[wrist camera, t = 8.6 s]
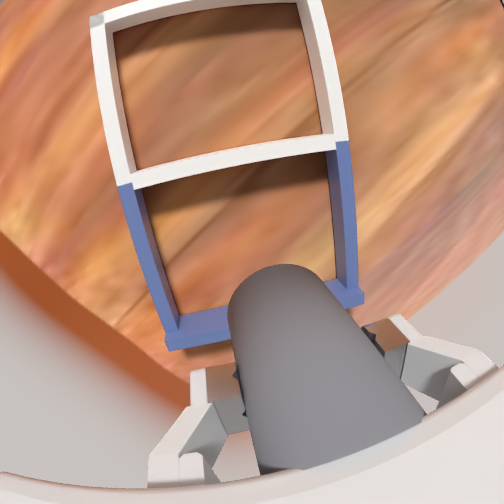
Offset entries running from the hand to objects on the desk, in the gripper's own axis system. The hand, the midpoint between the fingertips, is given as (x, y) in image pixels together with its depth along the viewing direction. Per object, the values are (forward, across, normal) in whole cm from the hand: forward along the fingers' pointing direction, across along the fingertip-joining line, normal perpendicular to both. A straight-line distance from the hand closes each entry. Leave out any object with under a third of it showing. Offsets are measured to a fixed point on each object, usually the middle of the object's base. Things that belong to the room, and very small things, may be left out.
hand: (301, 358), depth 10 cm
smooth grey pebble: (+3, 0, 0) cm, 3 cm away
